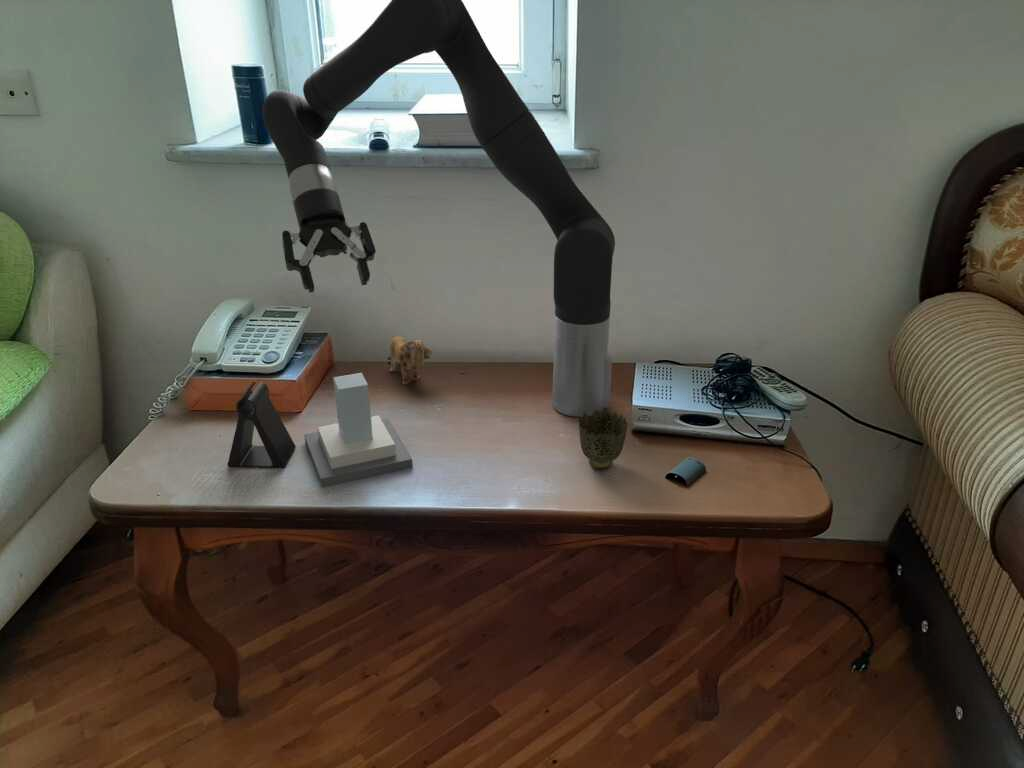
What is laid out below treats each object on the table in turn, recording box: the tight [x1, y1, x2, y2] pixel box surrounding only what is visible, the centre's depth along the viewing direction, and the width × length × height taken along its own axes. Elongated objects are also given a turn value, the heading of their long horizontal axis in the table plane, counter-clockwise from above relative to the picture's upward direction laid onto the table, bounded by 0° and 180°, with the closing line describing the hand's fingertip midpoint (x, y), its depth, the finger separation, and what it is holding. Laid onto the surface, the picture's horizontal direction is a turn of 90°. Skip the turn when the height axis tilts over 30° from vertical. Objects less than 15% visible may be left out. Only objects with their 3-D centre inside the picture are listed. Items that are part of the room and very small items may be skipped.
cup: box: [577, 408, 629, 471], centre depth 120 cm, size 8×7×8 cm
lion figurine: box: [386, 335, 433, 385], centre depth 149 cm, size 15×5×9 cm, turn 36°
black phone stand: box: [227, 381, 296, 469], centre depth 121 cm, size 9×6×12 cm, turn 88°
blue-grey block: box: [333, 372, 373, 444], centre depth 121 cm, size 4×4×10 cm
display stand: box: [303, 414, 414, 488], centre depth 124 cm, size 14×14×4 cm
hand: (338, 286), depth 125 cm, fingers open, 8 cm apart
